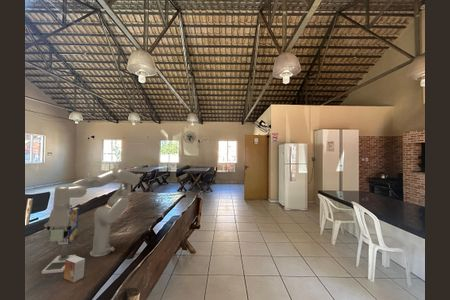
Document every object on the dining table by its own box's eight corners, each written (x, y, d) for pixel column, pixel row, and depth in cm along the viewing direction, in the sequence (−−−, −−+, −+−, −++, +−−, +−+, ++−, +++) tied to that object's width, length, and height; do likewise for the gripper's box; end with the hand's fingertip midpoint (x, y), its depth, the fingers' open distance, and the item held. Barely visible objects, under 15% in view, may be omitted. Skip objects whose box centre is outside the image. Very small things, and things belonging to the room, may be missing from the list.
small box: (63, 278, 113) (65, 259, 114) (74, 273, 118) (75, 255, 119) (73, 282, 110) (74, 262, 111) (83, 277, 116) (85, 258, 116)
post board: (57, 258, 134) (58, 243, 134) (75, 257, 137) (76, 242, 137) (41, 273, 117) (43, 256, 117) (62, 272, 119) (63, 255, 120)
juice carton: (68, 244, 154) (71, 211, 155) (57, 244, 153) (59, 211, 154) (76, 237, 166) (79, 207, 167) (66, 237, 165) (68, 207, 166)
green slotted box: (66, 237, 126) (67, 226, 127) (61, 240, 121) (63, 230, 121) (55, 237, 125) (56, 226, 125) (49, 241, 119) (50, 230, 119)
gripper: (80, 205, 129) (77, 234, 129) (47, 205, 125) (44, 235, 124) (75, 208, 122) (72, 239, 122) (40, 208, 117) (37, 240, 117)
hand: (58, 237), depth 123 cm, fingers closed on green slotted box, 6 cm apart
